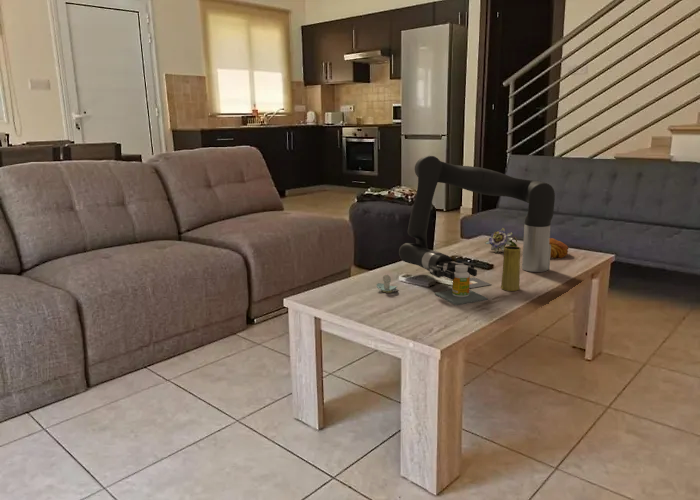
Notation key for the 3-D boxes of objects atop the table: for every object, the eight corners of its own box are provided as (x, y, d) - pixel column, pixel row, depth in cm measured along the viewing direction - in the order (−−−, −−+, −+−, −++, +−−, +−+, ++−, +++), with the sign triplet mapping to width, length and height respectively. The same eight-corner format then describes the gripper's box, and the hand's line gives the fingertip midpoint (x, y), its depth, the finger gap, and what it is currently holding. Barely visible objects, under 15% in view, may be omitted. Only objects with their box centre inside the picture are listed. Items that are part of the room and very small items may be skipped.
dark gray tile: (474, 277, 197) (474, 277, 197) (491, 285, 188) (491, 284, 188) (450, 281, 193) (450, 280, 193) (467, 289, 185) (467, 288, 184)
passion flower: (496, 264, 235) (480, 241, 235) (503, 254, 243) (488, 232, 243) (517, 253, 228) (501, 230, 228) (524, 243, 236) (509, 221, 236)
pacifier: (383, 287, 189) (374, 291, 184) (383, 270, 188) (374, 273, 183) (401, 290, 185) (393, 294, 180) (402, 272, 184) (393, 276, 179)
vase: (520, 291, 181) (522, 250, 177) (501, 290, 182) (503, 249, 179) (518, 286, 187) (520, 245, 183) (500, 285, 188) (502, 245, 184)
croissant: (528, 262, 226) (528, 243, 224) (536, 249, 239) (536, 231, 236) (564, 265, 219) (565, 246, 216) (571, 251, 231) (572, 233, 229)
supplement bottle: (459, 298, 173) (460, 269, 171) (448, 294, 178) (449, 265, 175) (472, 295, 175) (473, 266, 173) (462, 291, 180) (462, 263, 178)
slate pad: (465, 289, 184) (465, 287, 184) (487, 299, 173) (487, 297, 173) (434, 294, 180) (434, 292, 179) (455, 305, 169) (455, 303, 169)
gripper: (419, 254, 184) (446, 266, 169) (454, 250, 189) (483, 260, 175) (419, 276, 186) (445, 289, 171) (454, 271, 191) (482, 283, 177)
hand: (464, 274), depth 173 cm, fingers open, 8 cm apart
